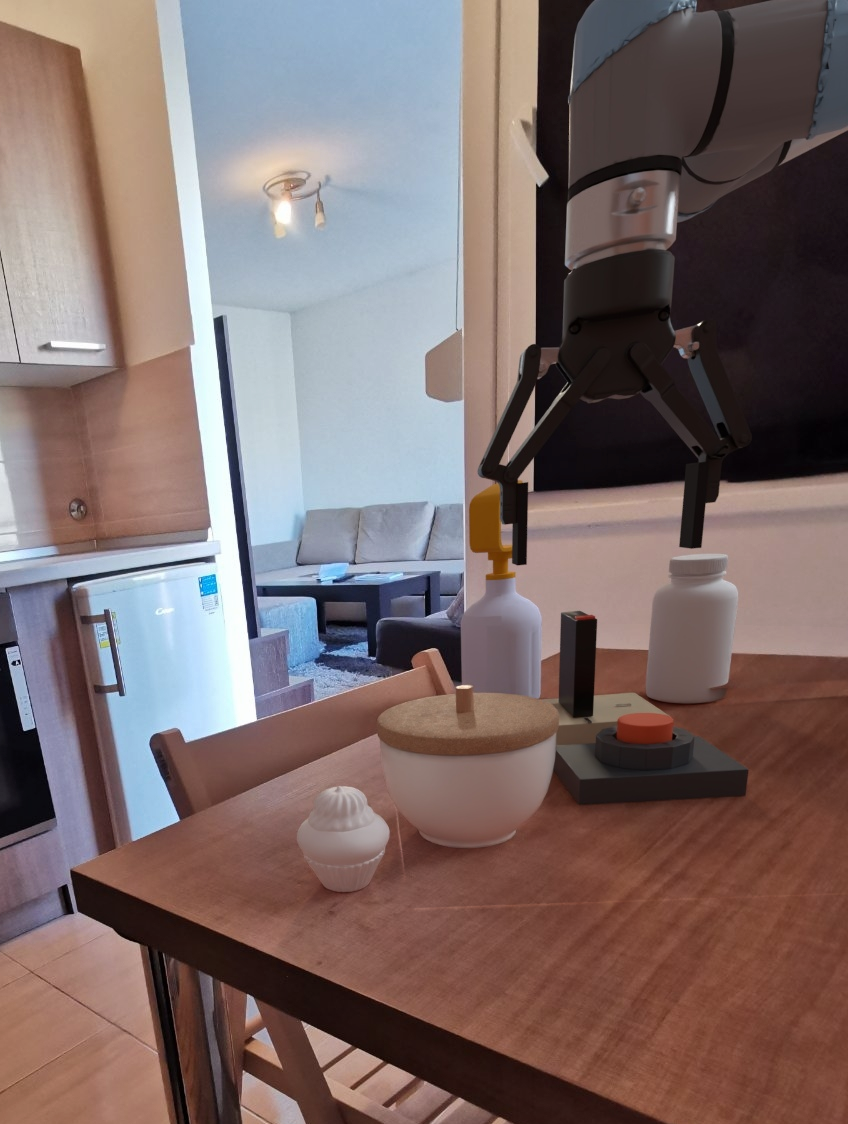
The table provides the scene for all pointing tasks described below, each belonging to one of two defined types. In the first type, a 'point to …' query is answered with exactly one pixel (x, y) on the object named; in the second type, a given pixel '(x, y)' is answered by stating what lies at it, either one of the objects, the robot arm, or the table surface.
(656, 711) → the plate
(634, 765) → the switch block
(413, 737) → the lidded bowl
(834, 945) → the table surface
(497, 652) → the soap bottle
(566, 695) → the black rectangular block
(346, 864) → the muffin
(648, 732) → the button
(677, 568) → the pill bottle
